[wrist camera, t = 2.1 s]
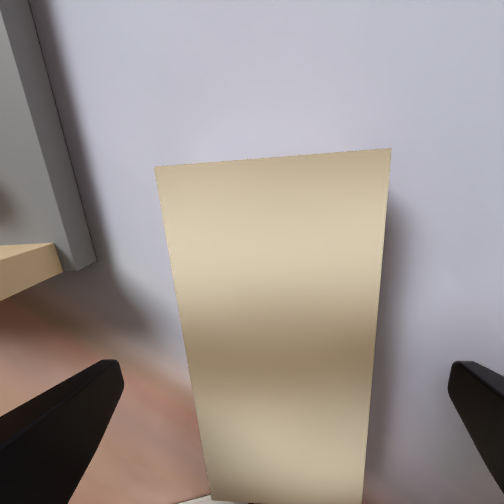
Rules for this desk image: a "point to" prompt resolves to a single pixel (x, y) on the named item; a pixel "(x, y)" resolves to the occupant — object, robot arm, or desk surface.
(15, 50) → the peg base
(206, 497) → the supplement box
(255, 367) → the board
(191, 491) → the desk surface
